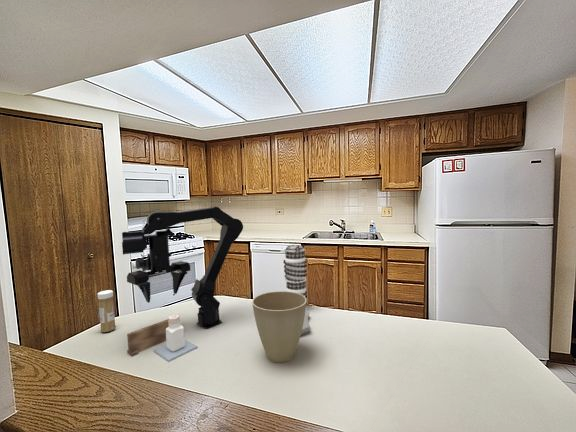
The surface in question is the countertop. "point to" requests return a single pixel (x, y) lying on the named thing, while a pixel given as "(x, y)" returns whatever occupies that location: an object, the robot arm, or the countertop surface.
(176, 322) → the pepper shaker
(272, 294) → the plant pot
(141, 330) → the walnut screen
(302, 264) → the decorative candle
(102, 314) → the spice jar
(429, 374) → the countertop surface
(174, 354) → the slate coaster
